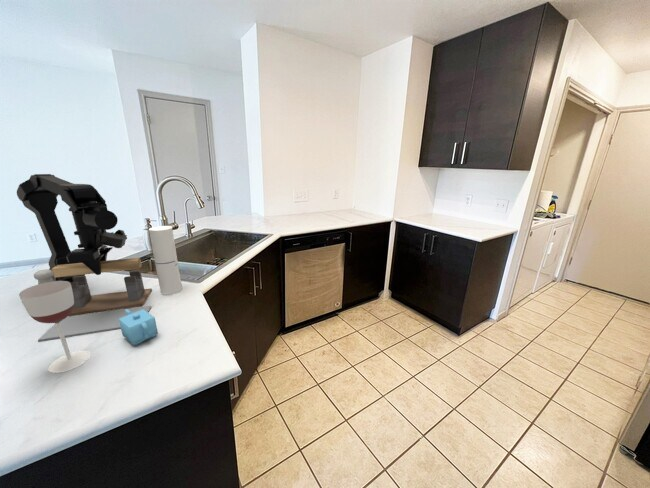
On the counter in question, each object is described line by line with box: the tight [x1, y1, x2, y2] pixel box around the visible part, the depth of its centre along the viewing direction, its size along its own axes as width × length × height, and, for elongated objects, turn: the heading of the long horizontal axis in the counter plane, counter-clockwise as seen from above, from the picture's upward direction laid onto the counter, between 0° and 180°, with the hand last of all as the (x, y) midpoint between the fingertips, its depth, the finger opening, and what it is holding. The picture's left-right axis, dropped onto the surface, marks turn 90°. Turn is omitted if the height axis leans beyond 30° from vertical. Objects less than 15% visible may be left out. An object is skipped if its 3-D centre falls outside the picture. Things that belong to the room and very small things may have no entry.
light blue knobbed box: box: [119, 308, 159, 346], centre depth 72 cm, size 12×6×8 cm, turn 56°
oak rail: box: [52, 257, 143, 278], centre depth 83 cm, size 3×22×3 cm, turn 111°
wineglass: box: [18, 281, 91, 374], centre depth 60 cm, size 8×9×20 cm
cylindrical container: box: [148, 225, 183, 296], centre depth 95 cm, size 7×7×25 cm
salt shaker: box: [33, 268, 54, 285], centre depth 85 cm, size 6×6×13 cm
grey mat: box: [37, 305, 152, 343], centre depth 78 cm, size 11×24×1 cm, turn 110°
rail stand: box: [67, 269, 153, 317], centre depth 88 cm, size 12×22×10 cm, turn 110°
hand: (101, 272), depth 83 cm, fingers closed on oak rail, 3 cm apart
